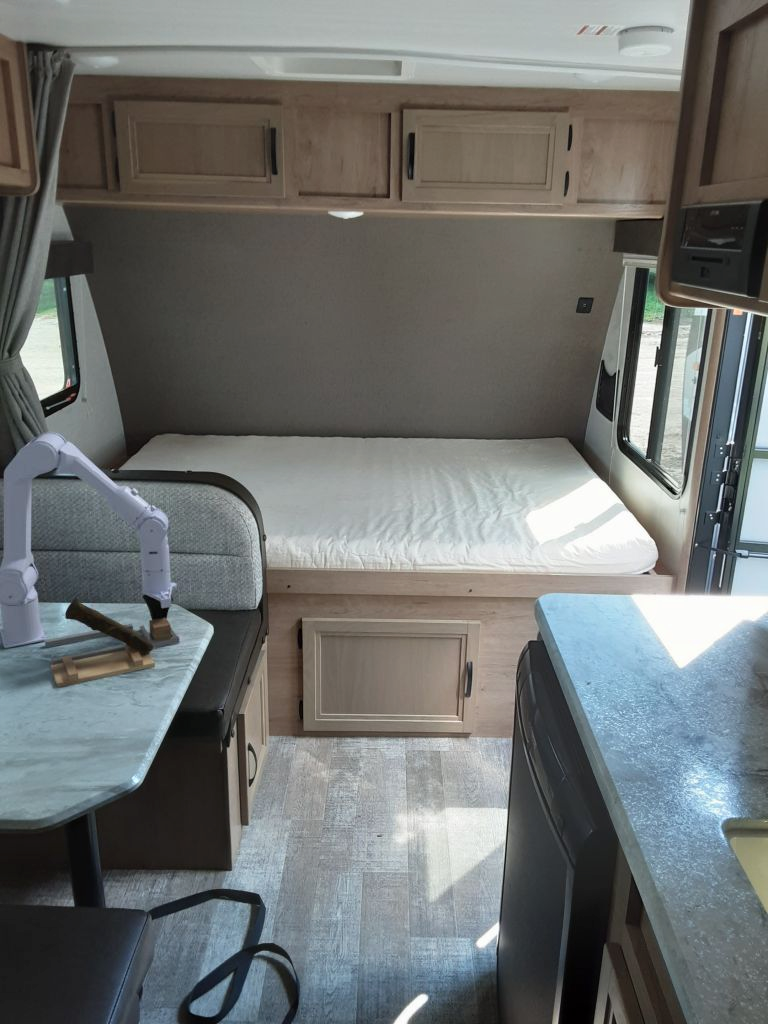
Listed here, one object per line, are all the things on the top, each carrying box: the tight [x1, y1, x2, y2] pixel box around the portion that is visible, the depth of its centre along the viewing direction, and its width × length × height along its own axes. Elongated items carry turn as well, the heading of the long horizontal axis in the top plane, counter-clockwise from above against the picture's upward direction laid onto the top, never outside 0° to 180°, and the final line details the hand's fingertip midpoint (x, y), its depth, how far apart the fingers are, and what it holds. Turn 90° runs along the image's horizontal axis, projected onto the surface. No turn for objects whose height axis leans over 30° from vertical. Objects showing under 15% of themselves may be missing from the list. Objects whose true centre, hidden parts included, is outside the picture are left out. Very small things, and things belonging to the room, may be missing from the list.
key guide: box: [139, 625, 181, 649], centre depth 170 cm, size 10×6×1 cm, turn 30°
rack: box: [50, 645, 156, 688], centre depth 156 cm, size 8×18×2 cm, turn 120°
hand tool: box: [64, 597, 154, 653], centre depth 158 cm, size 19×4×5 cm
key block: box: [148, 618, 172, 641], centre depth 169 cm, size 4×3×4 cm
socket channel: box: [44, 623, 134, 665], centre depth 165 cm, size 10×18×1 cm, turn 120°
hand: (159, 626), depth 172 cm, fingers closed
